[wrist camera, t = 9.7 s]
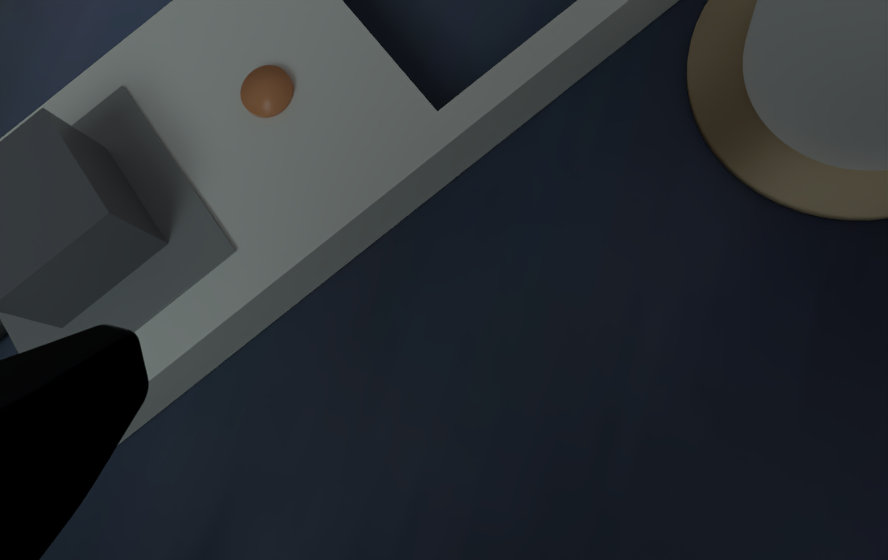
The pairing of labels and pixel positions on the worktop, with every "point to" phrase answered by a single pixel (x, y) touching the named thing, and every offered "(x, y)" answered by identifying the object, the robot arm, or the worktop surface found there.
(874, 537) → the worktop surface
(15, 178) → the block
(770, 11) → the can
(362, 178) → the strip dock
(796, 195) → the cork coaster
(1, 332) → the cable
